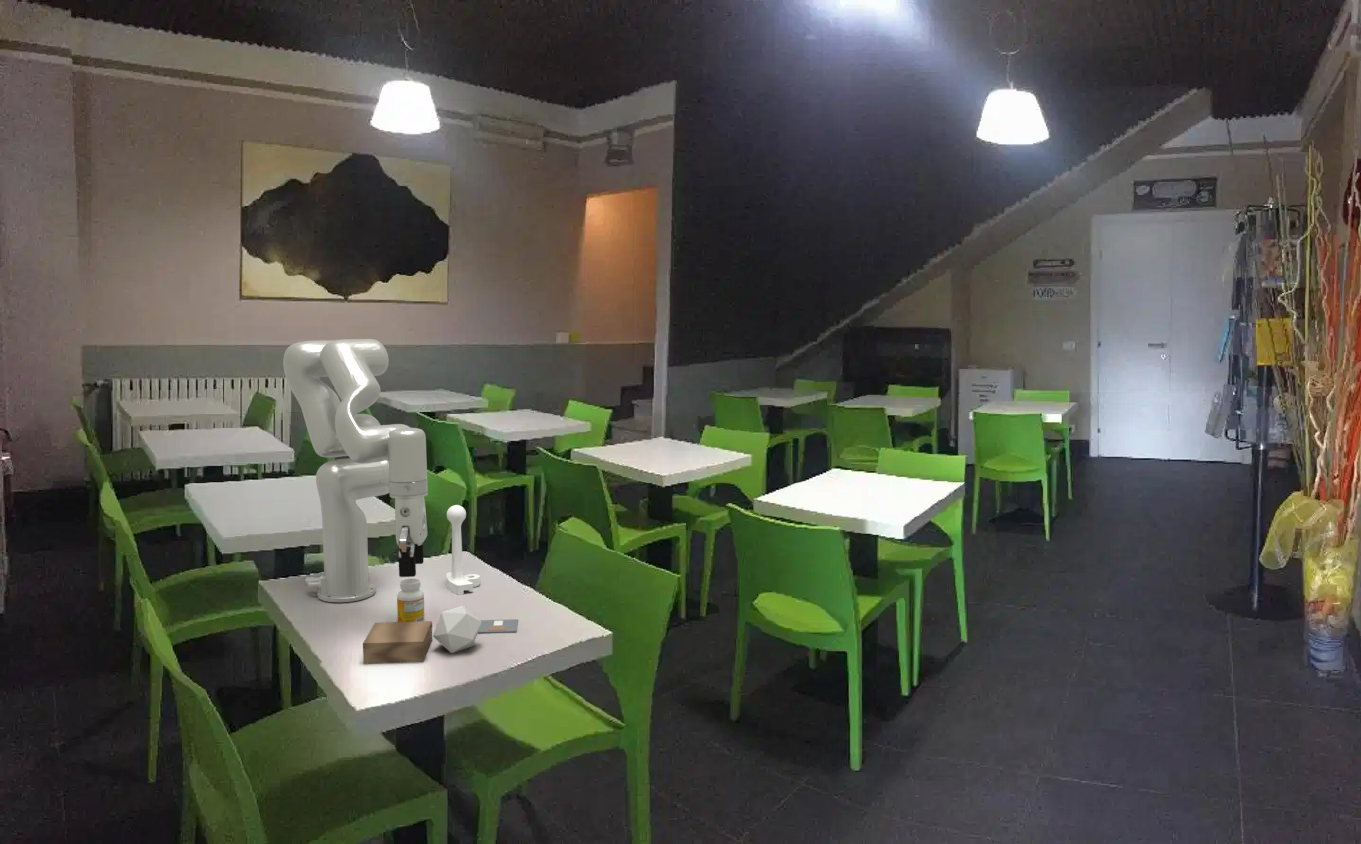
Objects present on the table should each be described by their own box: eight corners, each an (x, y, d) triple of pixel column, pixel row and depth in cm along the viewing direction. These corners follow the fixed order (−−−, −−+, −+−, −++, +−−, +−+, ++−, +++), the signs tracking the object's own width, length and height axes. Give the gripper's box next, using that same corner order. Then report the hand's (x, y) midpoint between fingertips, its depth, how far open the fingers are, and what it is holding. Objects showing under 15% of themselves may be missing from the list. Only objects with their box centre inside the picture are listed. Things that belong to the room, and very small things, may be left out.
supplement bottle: (398, 622, 190) (397, 578, 189) (425, 620, 192) (424, 576, 190) (397, 631, 185) (395, 586, 184) (424, 629, 186) (423, 584, 185)
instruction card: (476, 633, 185) (476, 631, 185) (480, 621, 192) (480, 619, 191) (516, 632, 186) (516, 630, 186) (518, 620, 193) (518, 618, 192)
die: (464, 639, 183) (434, 606, 180) (495, 624, 180) (465, 590, 177) (449, 667, 176) (417, 633, 173) (481, 653, 173) (449, 618, 170)
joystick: (442, 582, 218) (441, 501, 215) (473, 578, 221) (472, 498, 219) (453, 595, 208) (452, 511, 206) (485, 591, 212) (484, 508, 209)
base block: (363, 663, 168) (362, 643, 168) (375, 641, 179) (375, 622, 179) (423, 661, 170) (423, 641, 169) (432, 640, 181) (431, 621, 180)
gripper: (420, 495, 176) (423, 581, 178) (433, 480, 193) (436, 558, 195) (381, 497, 175) (384, 582, 177) (397, 481, 192) (400, 559, 194)
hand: (411, 569), depth 186 cm, fingers open, 9 cm apart
